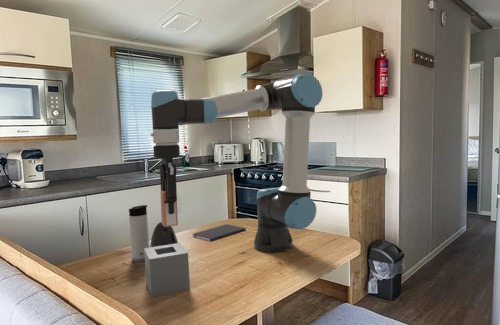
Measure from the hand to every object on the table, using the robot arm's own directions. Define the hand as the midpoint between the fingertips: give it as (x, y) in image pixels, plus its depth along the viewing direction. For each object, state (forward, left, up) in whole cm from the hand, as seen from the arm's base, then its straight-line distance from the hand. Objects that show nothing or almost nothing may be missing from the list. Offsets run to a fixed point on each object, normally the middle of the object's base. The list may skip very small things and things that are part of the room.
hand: (169, 222), depth 112 cm
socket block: (+2, 0, -19) cm, 19 cm away
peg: (0, 0, -1) cm, 1 cm away
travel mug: (+6, -30, -20) cm, 36 cm away
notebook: (-30, -48, -20) cm, 60 cm away
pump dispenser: (-1, -20, -20) cm, 28 cm away
